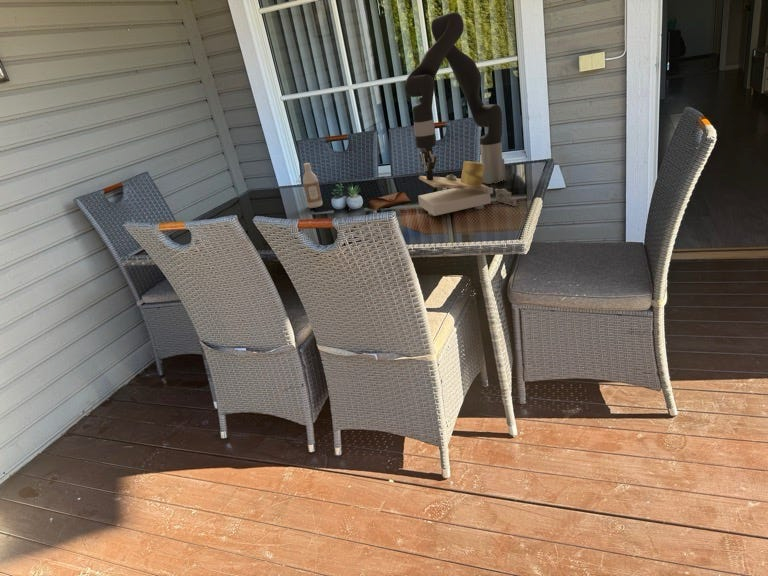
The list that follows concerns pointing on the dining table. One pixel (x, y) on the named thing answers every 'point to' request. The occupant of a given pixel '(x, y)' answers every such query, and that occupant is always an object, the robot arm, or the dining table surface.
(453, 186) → the instrument plate
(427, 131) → the robot arm
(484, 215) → the dining table surface
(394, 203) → the sunglasses case
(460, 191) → the base
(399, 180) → the dining table surface
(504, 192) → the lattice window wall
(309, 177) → the tan bottle
